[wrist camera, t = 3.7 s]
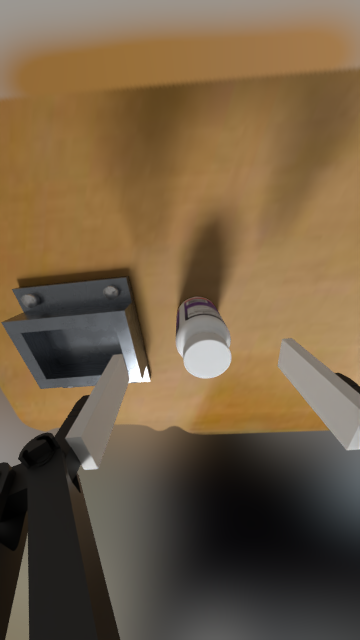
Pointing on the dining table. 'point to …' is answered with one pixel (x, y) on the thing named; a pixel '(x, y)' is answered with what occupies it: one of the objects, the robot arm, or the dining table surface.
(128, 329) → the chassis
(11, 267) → the dining table surface
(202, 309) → the pill bottle
